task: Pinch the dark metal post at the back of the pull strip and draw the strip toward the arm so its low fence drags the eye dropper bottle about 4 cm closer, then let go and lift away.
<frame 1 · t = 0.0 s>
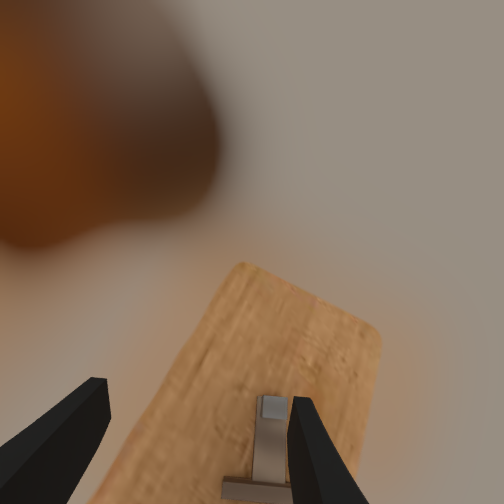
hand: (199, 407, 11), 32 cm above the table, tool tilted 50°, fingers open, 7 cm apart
pull strip: (271, 445, 35), point 3 cm above the table, slide at 0.0 cm
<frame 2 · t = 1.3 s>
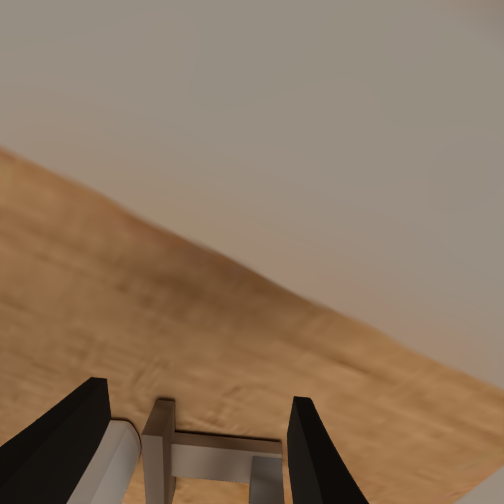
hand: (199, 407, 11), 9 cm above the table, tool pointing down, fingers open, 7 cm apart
eye dropper bottle: (123, 438, 25), on the table
pull strip: (213, 484, 22), point 3 cm above the table, slide at 0.0 cm
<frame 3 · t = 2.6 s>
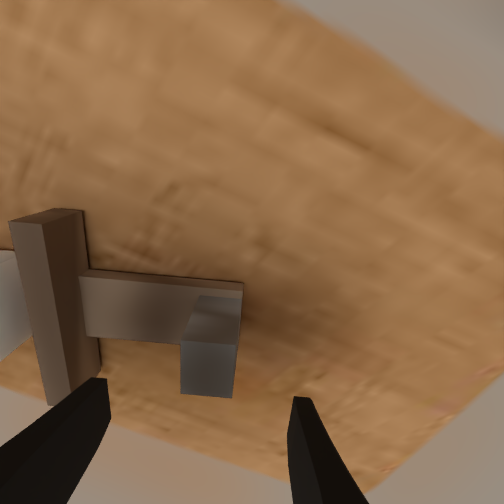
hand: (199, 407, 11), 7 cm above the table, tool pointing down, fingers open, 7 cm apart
eye dropper bottle: (20, 288, 18), on the table
pull strip: (137, 328, 15), point 3 cm above the table, slide at 0.0 cm
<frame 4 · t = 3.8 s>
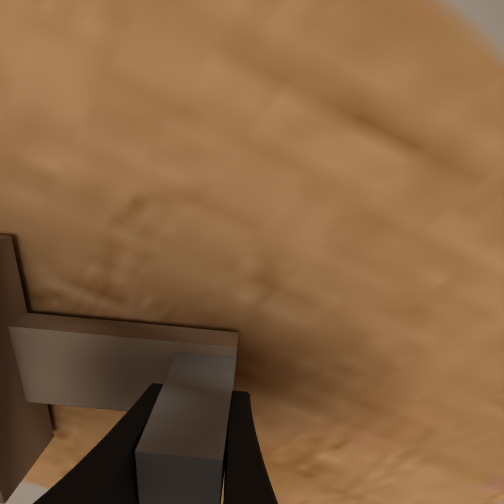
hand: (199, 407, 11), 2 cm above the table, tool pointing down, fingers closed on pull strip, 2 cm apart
pull strip: (87, 404, 11), point 3 cm above the table, slide at 0.0 cm, touching gripper
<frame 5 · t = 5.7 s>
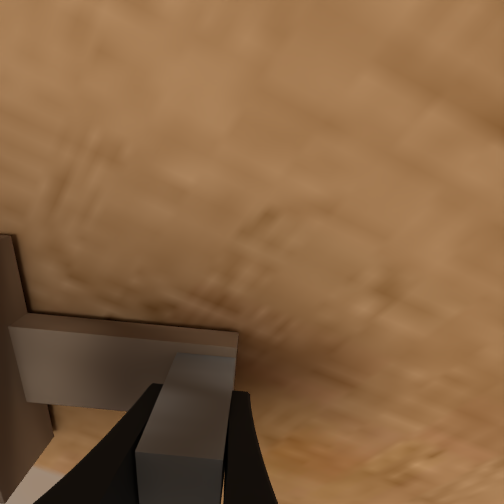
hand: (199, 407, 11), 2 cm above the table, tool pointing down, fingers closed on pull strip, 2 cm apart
pull strip: (87, 404, 11), point 3 cm above the table, slide at 5.0 cm, touching eye dropper bottle, gripper
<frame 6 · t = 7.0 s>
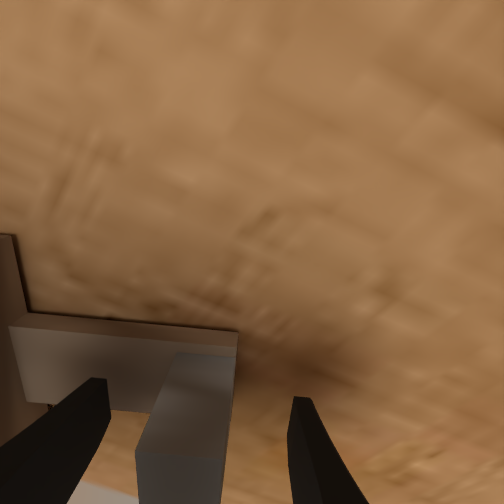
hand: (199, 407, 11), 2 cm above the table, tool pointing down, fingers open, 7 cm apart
pull strip: (87, 404, 11), point 3 cm above the table, slide at 5.0 cm
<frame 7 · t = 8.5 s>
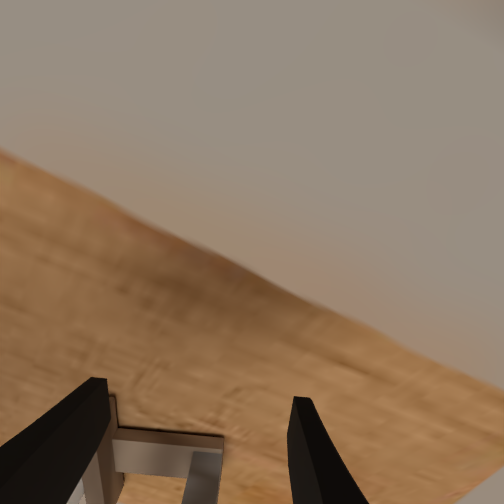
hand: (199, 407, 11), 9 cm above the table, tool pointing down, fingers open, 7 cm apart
pull strip: (152, 479, 23), point 3 cm above the table, slide at 5.0 cm
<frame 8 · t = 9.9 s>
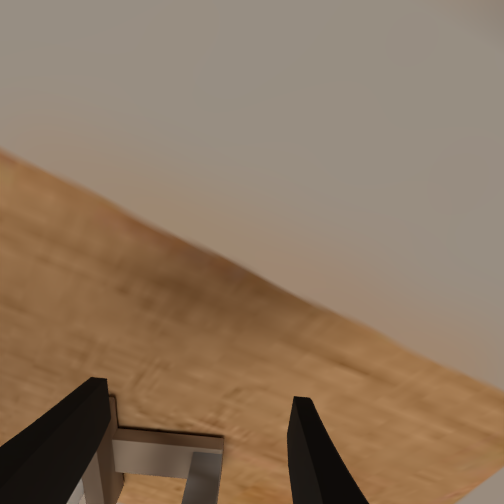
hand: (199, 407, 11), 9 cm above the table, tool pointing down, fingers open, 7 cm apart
pull strip: (152, 479, 23), point 3 cm above the table, slide at 5.0 cm
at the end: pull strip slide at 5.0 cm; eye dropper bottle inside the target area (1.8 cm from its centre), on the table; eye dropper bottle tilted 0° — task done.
